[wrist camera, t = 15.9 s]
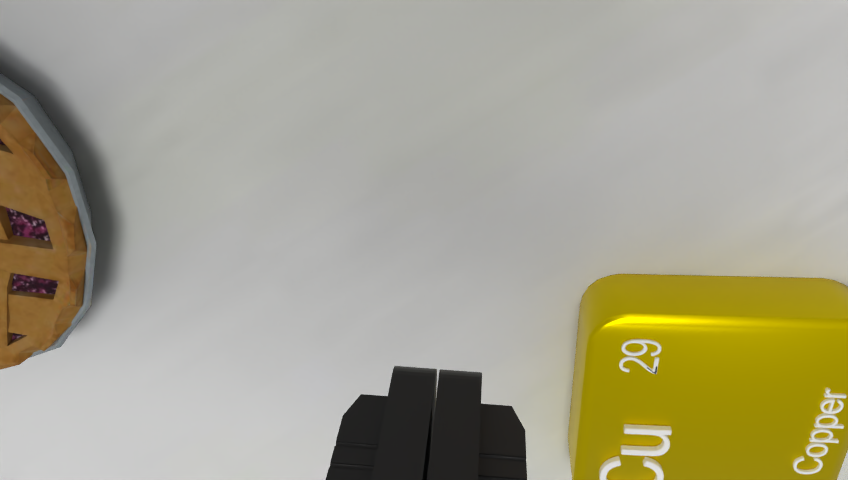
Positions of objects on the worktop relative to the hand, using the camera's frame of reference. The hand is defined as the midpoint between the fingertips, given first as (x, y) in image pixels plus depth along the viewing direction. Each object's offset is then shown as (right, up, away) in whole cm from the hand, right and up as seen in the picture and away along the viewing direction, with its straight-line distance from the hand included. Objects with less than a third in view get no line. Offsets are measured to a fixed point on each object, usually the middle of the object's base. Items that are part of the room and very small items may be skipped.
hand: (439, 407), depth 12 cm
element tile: (+17, -5, +31) cm, 36 cm away
